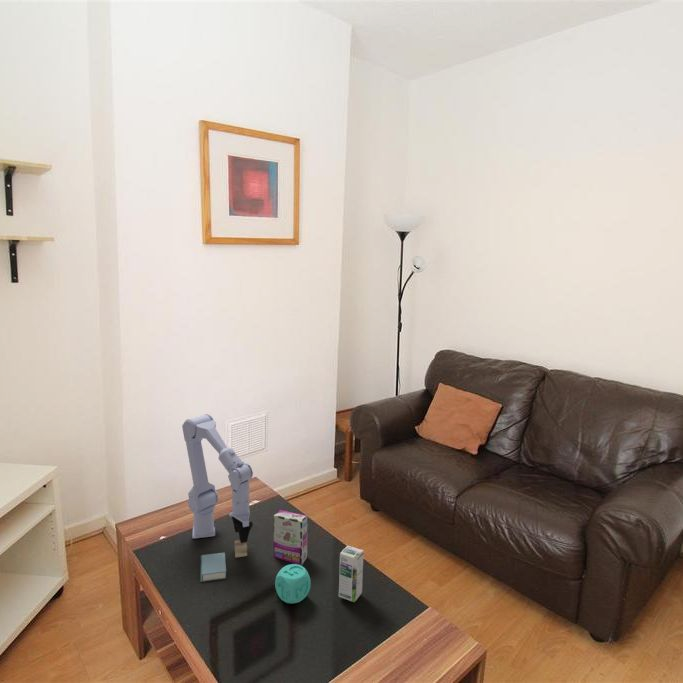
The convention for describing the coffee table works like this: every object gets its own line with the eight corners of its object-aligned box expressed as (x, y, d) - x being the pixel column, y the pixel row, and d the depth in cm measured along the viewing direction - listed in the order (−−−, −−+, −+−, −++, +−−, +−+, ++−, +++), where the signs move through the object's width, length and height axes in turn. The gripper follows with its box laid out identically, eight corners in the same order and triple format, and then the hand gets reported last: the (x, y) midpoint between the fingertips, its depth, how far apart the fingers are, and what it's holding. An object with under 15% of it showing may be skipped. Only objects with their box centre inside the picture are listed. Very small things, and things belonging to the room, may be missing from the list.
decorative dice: (274, 594, 150) (274, 570, 149) (294, 583, 155) (294, 560, 154) (290, 607, 144) (291, 582, 143) (310, 595, 150) (311, 571, 149)
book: (200, 562, 166) (200, 555, 165) (224, 559, 168) (224, 552, 168) (200, 582, 155) (200, 574, 155) (226, 578, 157) (226, 570, 157)
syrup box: (337, 597, 149) (339, 553, 148) (346, 586, 155) (347, 544, 153) (354, 603, 147) (355, 558, 145) (362, 592, 152) (364, 549, 150)
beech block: (234, 554, 171) (234, 540, 171) (246, 552, 172) (246, 539, 172) (235, 560, 167) (235, 546, 167) (247, 558, 168) (247, 545, 168)
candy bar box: (307, 559, 169) (308, 515, 167) (301, 567, 164) (302, 521, 162) (279, 552, 173) (280, 508, 171) (272, 559, 168) (272, 515, 166)
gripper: (224, 493, 172) (225, 529, 174) (234, 511, 159) (234, 549, 161) (244, 489, 175) (244, 525, 177) (255, 507, 162) (255, 545, 164)
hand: (241, 536), depth 169 cm, fingers open, 7 cm apart
